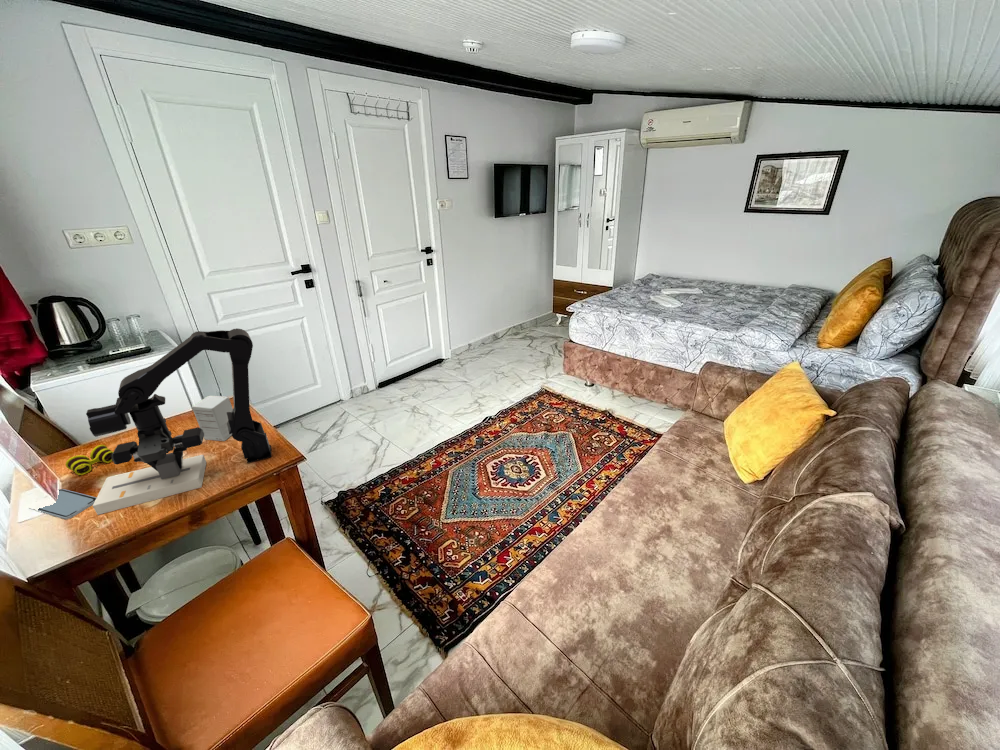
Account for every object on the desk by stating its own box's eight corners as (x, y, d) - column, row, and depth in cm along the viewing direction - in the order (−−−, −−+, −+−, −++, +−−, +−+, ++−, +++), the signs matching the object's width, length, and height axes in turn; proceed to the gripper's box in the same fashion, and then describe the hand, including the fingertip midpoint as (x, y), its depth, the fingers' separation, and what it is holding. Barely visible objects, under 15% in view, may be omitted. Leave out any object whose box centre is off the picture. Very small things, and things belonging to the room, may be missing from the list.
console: (206, 462, 121) (203, 454, 120) (201, 487, 112) (197, 478, 110) (111, 485, 112) (107, 477, 111) (97, 514, 102) (92, 505, 101)
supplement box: (220, 427, 138) (208, 394, 132) (240, 429, 137) (229, 396, 132) (203, 439, 132) (190, 406, 126) (224, 441, 131) (212, 408, 125)
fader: (182, 464, 115) (177, 451, 113) (179, 474, 111) (173, 461, 109) (165, 468, 113) (159, 455, 111) (161, 479, 109) (155, 466, 107)
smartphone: (60, 488, 111) (99, 498, 107) (62, 490, 111) (101, 500, 107) (25, 507, 104) (66, 518, 101) (27, 509, 105) (67, 521, 101)
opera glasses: (79, 480, 116) (73, 467, 113) (68, 472, 117) (62, 459, 115) (119, 460, 123) (114, 448, 121) (109, 453, 125) (103, 441, 122)
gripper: (92, 449, 95) (120, 500, 102) (188, 428, 102) (208, 477, 109) (107, 425, 104) (131, 473, 111) (194, 408, 111) (212, 454, 118)
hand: (171, 470), depth 112 cm, fingers closed on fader, 4 cm apart
